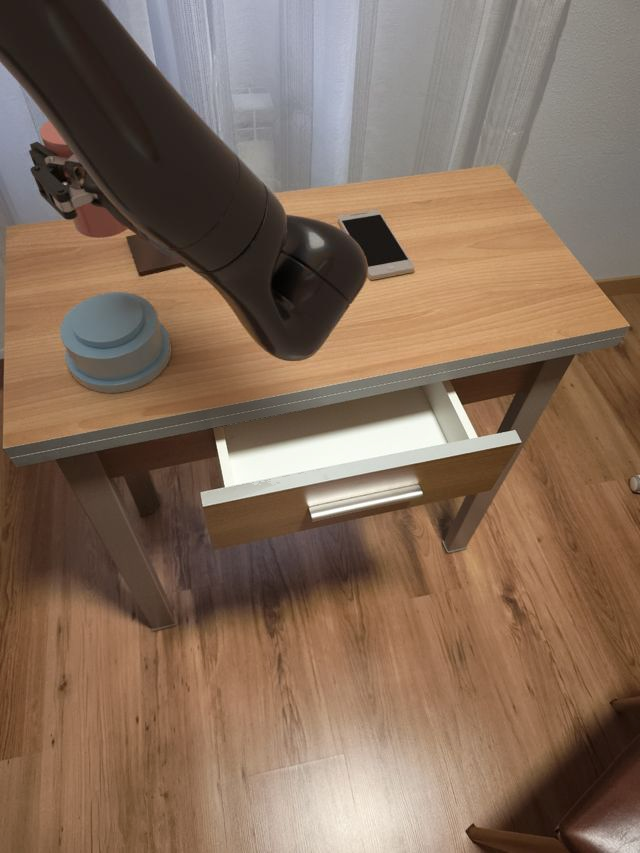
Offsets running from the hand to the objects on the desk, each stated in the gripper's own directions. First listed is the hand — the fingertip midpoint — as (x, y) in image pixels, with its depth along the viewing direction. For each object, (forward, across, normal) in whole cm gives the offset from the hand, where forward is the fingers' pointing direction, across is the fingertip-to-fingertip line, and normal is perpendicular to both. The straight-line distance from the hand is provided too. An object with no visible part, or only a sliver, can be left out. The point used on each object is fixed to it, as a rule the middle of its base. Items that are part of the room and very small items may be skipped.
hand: (68, 140), depth 57 cm
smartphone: (-12, -37, +26) cm, 46 cm away
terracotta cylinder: (-2, 0, +8) cm, 8 cm away
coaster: (+10, -13, +25) cm, 30 cm away
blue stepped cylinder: (-3, +4, +25) cm, 26 cm away
